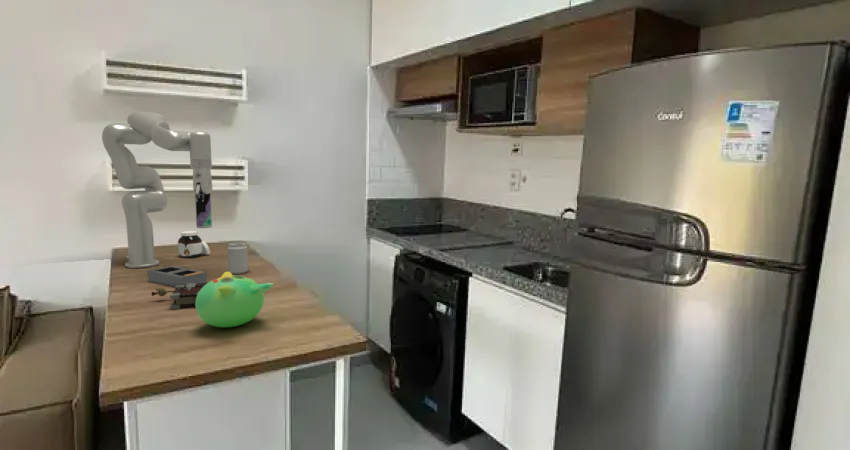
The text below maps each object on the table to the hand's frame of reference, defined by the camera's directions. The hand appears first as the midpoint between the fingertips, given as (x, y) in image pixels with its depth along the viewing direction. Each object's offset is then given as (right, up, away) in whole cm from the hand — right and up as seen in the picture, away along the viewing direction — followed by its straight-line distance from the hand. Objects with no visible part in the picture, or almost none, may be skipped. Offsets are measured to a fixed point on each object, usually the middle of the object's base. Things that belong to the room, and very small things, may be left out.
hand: (203, 210), depth 193 cm
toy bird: (+33, -34, -55) cm, 72 cm away
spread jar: (-21, -20, +38) cm, 48 cm away
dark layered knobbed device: (+12, -31, -33) cm, 47 cm away
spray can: (0, -7, +1) cm, 7 cm away
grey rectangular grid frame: (-6, -27, -9) cm, 29 cm away
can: (+11, -25, +7) cm, 28 cm away
